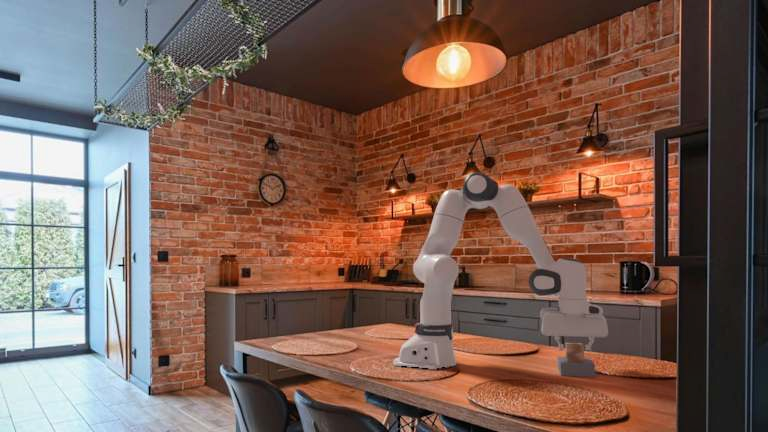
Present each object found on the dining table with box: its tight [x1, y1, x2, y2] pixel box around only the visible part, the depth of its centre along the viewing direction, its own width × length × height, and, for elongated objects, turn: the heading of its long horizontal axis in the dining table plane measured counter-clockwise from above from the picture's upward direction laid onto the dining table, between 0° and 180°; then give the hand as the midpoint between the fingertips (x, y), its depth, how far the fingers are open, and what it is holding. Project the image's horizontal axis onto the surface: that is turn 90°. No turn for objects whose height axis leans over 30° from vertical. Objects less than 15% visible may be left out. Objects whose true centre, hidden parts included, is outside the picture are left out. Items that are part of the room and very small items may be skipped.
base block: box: [557, 356, 596, 378], centre depth 158 cm, size 10×10×4 cm
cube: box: [564, 342, 585, 362], centre depth 158 cm, size 5×5×5 cm
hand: (574, 350), depth 159 cm, fingers open, 7 cm apart
